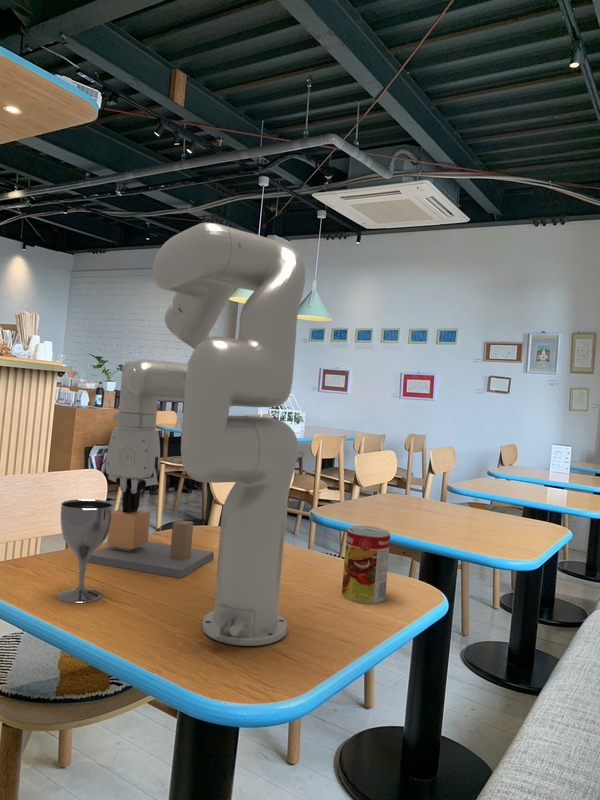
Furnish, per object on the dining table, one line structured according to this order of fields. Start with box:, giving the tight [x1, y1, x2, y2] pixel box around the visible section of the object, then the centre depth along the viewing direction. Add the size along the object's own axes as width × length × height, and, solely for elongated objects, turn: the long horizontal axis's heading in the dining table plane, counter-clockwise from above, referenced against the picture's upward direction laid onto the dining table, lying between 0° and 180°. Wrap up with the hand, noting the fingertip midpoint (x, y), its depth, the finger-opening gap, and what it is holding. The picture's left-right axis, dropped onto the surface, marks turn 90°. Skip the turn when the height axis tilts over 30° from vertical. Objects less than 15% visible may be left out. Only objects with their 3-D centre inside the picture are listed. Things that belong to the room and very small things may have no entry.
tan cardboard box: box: [106, 508, 151, 549], centre depth 120 cm, size 6×6×7 cm
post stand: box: [87, 519, 215, 579], centre depth 118 cm, size 15×20×8 cm
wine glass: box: [56, 498, 114, 604], centre depth 96 cm, size 8×8×15 cm
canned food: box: [341, 525, 391, 605], centre depth 107 cm, size 8×8×12 cm
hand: (130, 511), depth 120 cm, fingers closed
